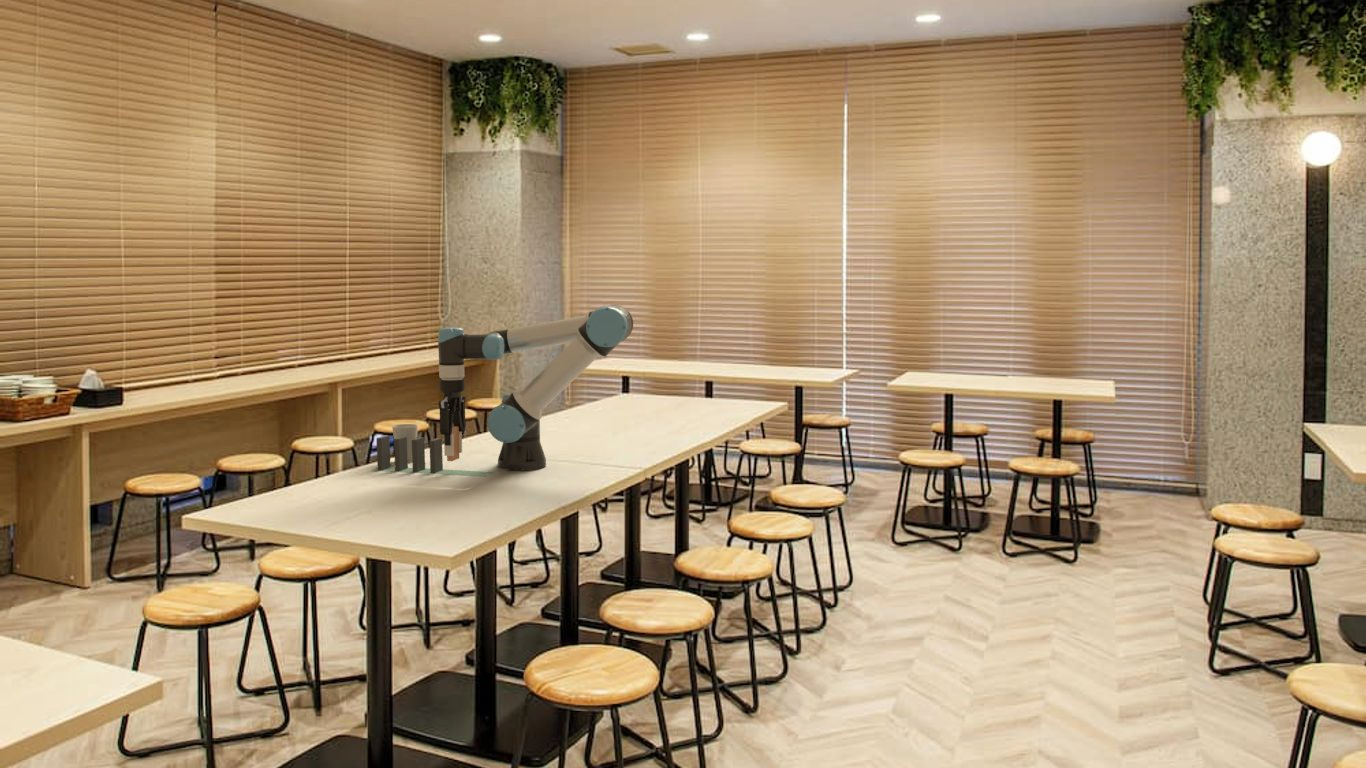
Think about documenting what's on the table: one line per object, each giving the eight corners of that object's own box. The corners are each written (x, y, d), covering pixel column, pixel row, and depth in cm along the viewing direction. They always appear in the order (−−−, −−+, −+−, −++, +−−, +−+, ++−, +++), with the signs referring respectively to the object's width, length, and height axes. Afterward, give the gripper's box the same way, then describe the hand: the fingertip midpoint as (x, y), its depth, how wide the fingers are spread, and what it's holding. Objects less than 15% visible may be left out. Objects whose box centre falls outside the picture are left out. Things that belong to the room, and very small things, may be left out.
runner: (493, 473, 331) (493, 472, 331) (484, 477, 324) (484, 476, 324) (382, 467, 341) (382, 466, 341) (371, 471, 334) (371, 470, 334)
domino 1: (390, 467, 339) (389, 435, 338) (382, 470, 334) (381, 438, 333) (385, 467, 339) (384, 435, 338) (377, 470, 334) (376, 438, 333)
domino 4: (442, 470, 334) (441, 438, 333) (435, 473, 330) (434, 440, 328) (438, 469, 335) (437, 438, 334) (430, 472, 330) (429, 440, 329)
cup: (412, 465, 344) (411, 428, 343) (389, 464, 346) (387, 427, 345) (423, 460, 352) (422, 424, 351) (400, 459, 354) (399, 423, 352)
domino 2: (407, 468, 337) (406, 436, 336) (399, 471, 332) (398, 439, 331) (403, 468, 338) (402, 436, 337) (395, 471, 333) (394, 439, 332)
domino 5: (459, 458, 332) (458, 426, 331) (452, 461, 328) (451, 428, 326) (454, 457, 333) (454, 425, 332) (447, 460, 328) (446, 428, 327)
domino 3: (425, 469, 336) (424, 437, 335) (417, 472, 331) (416, 440, 330) (420, 468, 336) (419, 437, 335) (412, 472, 331) (411, 439, 330)
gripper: (454, 375, 337) (455, 448, 340) (426, 381, 319) (428, 458, 322) (476, 375, 335) (477, 449, 338) (449, 382, 318) (451, 460, 320)
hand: (453, 453), depth 330 cm, fingers closed on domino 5, 5 cm apart
